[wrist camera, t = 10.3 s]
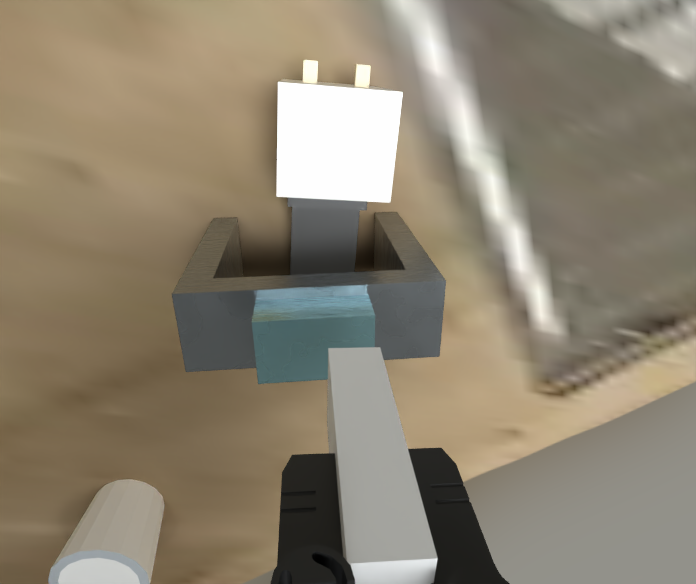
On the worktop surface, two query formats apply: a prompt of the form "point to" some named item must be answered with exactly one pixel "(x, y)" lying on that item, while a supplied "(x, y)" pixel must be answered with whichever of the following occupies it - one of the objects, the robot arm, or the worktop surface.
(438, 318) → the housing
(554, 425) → the worktop surface
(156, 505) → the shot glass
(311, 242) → the plug
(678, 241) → the worktop surface
